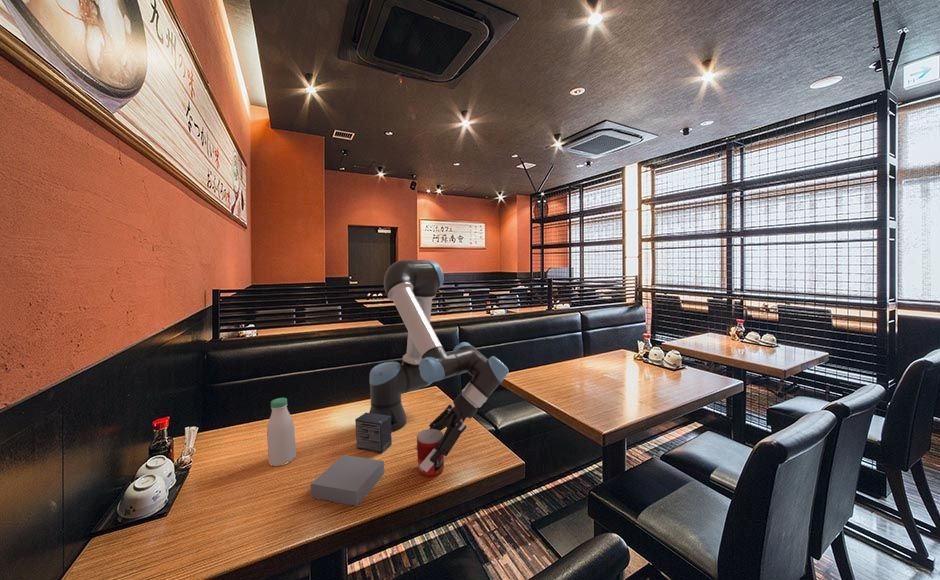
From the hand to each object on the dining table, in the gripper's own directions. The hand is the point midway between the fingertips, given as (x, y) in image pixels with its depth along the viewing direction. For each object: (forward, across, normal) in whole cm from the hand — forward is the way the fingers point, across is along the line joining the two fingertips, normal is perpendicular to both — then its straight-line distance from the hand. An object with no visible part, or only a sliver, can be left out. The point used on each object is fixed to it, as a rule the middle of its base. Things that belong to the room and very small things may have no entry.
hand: (420, 459), depth 100 cm
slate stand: (+17, 0, +12) cm, 20 cm away
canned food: (+1, 0, -5) cm, 5 cm away
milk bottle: (+32, +21, +26) cm, 47 cm away
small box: (+12, +20, +6) cm, 24 cm away
